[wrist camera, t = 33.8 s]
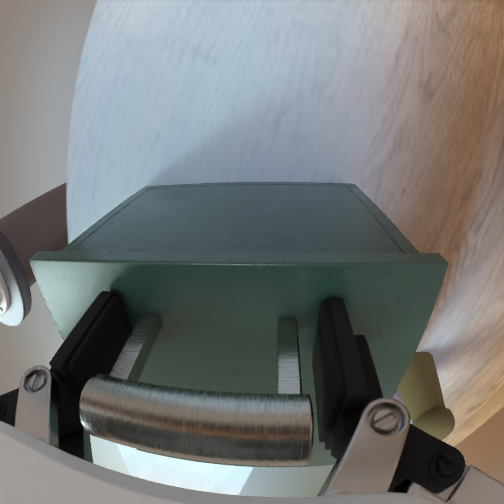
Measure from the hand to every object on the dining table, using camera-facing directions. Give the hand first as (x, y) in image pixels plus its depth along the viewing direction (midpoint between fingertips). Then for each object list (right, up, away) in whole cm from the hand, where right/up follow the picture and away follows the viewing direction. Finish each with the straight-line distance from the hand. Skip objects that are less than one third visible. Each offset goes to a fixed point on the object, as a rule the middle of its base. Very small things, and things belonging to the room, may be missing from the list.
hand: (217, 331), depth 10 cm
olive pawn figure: (+21, -12, +20) cm, 32 cm away
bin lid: (0, -5, +4) cm, 6 cm away
